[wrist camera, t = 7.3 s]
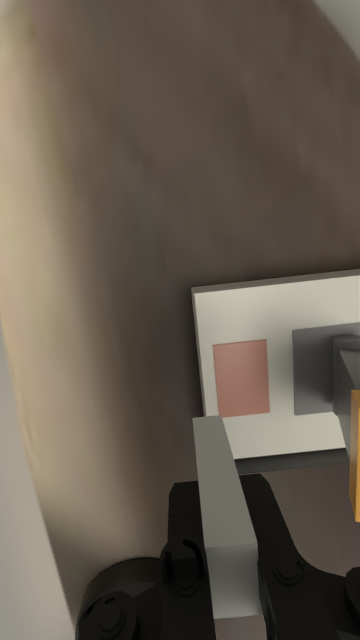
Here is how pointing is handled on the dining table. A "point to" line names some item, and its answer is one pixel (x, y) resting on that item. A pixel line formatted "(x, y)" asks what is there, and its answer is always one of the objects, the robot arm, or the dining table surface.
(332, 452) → the long thin dark rod
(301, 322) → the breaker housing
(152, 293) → the dining table surface
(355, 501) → the breaker lever
